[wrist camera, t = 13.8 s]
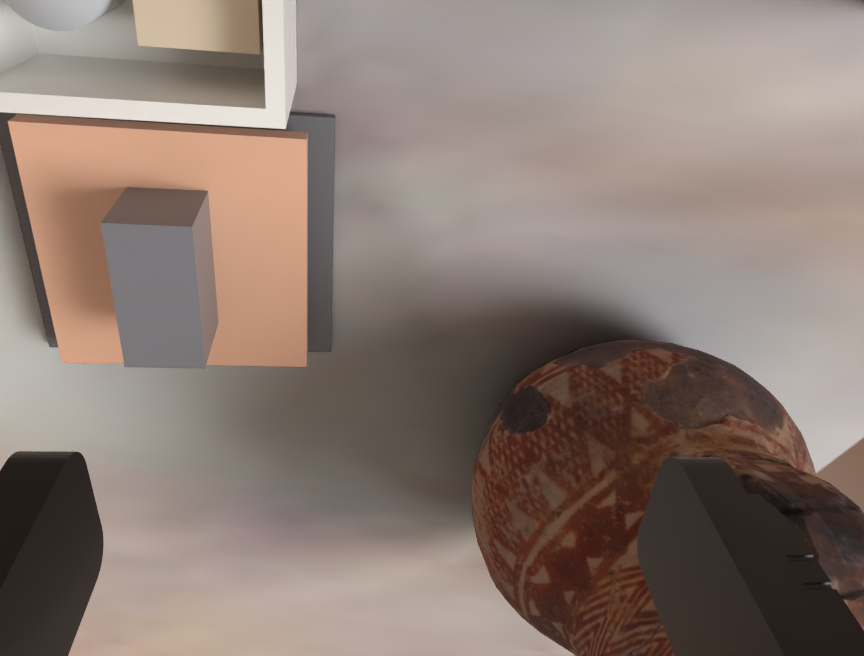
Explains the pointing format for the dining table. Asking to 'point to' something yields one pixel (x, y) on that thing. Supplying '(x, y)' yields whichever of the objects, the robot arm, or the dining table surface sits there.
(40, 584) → the robot arm
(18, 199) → the mat
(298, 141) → the lid
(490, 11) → the dining table surface
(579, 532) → the jug
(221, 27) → the storage box
